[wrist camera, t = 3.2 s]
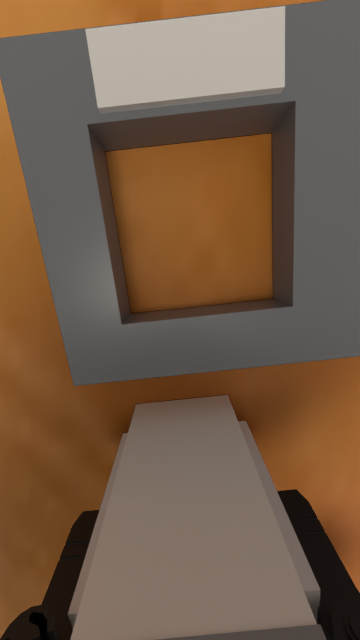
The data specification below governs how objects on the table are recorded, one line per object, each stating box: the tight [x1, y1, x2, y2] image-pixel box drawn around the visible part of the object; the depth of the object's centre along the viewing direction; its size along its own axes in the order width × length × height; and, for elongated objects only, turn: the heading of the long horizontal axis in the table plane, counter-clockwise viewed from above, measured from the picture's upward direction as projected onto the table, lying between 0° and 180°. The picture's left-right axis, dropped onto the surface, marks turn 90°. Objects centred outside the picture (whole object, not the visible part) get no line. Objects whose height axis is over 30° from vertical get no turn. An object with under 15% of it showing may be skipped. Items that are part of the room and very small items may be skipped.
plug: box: [70, 395, 326, 640], centre depth 8 cm, size 5×5×10 cm
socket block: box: [0, 0, 360, 386], centre depth 9 cm, size 23×12×2 cm, turn 96°
